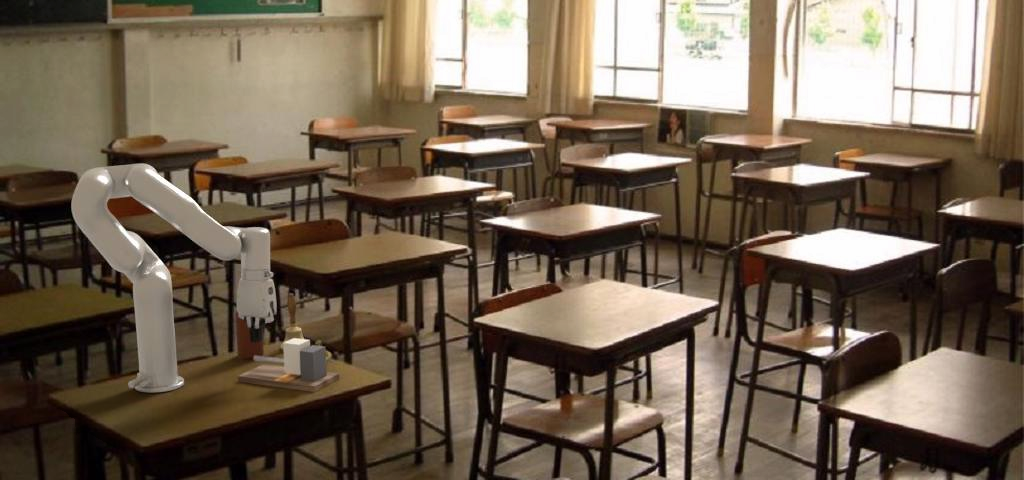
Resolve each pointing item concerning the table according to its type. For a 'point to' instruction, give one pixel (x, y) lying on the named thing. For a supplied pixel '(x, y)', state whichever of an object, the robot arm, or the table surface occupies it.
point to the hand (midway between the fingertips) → (256, 341)
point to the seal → (328, 354)
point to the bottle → (247, 341)
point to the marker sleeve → (294, 354)
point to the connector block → (313, 363)
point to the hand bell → (292, 321)
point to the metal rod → (268, 359)
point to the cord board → (284, 378)
